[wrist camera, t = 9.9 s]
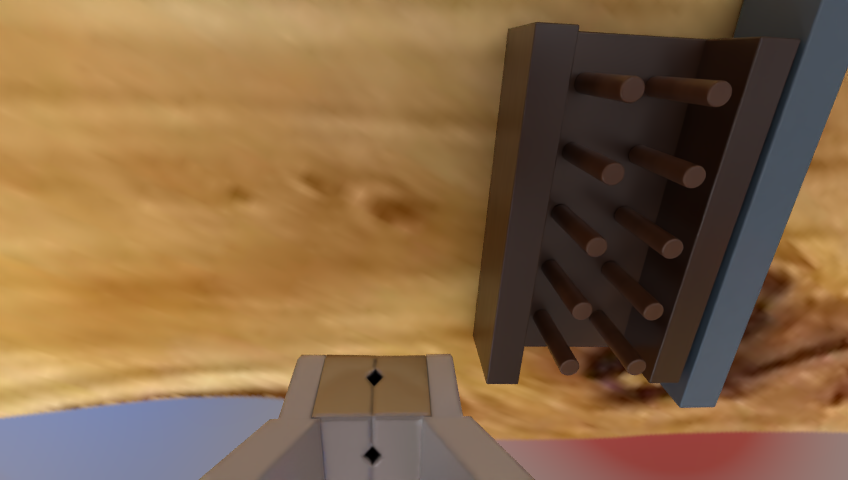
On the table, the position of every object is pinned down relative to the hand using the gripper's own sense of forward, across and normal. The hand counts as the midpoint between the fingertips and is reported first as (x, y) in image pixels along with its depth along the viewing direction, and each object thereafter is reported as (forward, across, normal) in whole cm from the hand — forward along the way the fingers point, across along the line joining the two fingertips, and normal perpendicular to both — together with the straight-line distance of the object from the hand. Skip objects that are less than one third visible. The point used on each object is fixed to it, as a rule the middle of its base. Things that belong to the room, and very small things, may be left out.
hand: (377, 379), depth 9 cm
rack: (+14, -10, +1) cm, 17 cm away
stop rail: (+14, -16, +1) cm, 21 cm away
